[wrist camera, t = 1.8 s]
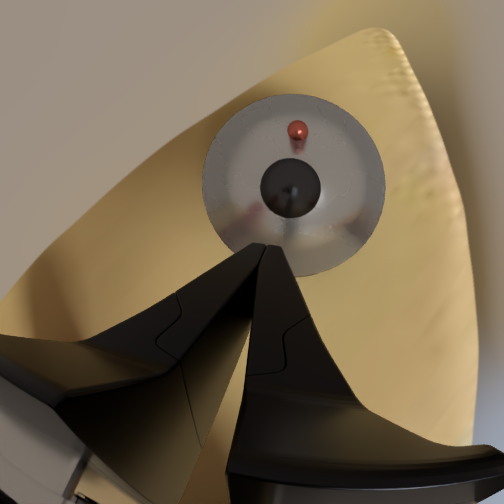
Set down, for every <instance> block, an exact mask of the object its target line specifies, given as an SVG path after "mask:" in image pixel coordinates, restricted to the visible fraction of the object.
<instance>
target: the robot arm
mask: <svg viewBox="0 0 504 504" xmlns="http://www.w3.org/2000/svg"><path fill="white" fill-rule="evenodd" d="M250 328H251V330H250ZM249 331H250V339H249V348H248V356H247V365H246V373H245V382H244V389H243V396H242V401H241V406H240V410H239V415H238V419H237V423H236V428H235V432H234V436H233V440H232V445H231V449H230V453H229V457H228V462H227V466H226V471H225V476H226V483H227V490H228V497H229V503H230V504H477V503H478V502H480V501H482V500H484V499H486V498H488V497H490V496H492V495H493V494H495V493H497V492H499V491H501V490H502V489H504V453H503V452H501V451H500V450H498V449H496V448H495V447H493V446H491V445H485V444H483V445H471V446H447V445H442V444H439V443H435V442H432V441H430V440H427V439H425V438H423V437H421V436H419V435H417V434H414V433H412V432H410V431H408V430H406V429H404V428H402V427H400V426H398V425H396V424H394V423H392V422H390V421H388V420H386V419H385V418H383V417H381V416H379V415H377V414H375V413H373V412H371V411H370V410H368V409H367V408H366V407H365V406H364V405H363V404H362V403H361V402H360V401H359V400H358V398H357V397H356V396H355V394H354V393H353V391H352V389H351V388H350V386H349V385H348V383H347V381H346V380H345V378H344V376H343V375H342V373H341V371H340V370H339V368H338V367H337V365H336V363H335V362H334V360H333V358H332V357H331V355H330V353H329V352H328V350H327V348H326V346H325V344H324V343H323V341H322V339H321V337H320V335H319V332H318V330H317V328H316V326H315V324H314V321H313V319H312V317H311V314H310V312H309V310H308V307H307V305H306V302H305V300H304V298H303V295H302V293H301V291H300V288H299V286H298V284H297V281H296V279H295V277H294V274H293V272H292V270H291V267H290V265H289V263H288V260H287V258H286V256H285V253H284V251H283V249H282V247H281V246H276V245H267V246H266V245H265V244H262V243H255V242H252V243H250V244H249V245H247V246H246V247H244V248H243V249H241V250H239V251H238V252H236V253H235V254H233V255H232V256H230V257H228V258H227V259H225V260H224V261H222V262H221V263H219V264H217V265H216V266H214V267H213V268H211V269H210V270H208V271H207V272H205V273H203V274H202V275H200V276H199V277H197V278H196V279H194V280H193V281H191V282H189V283H188V284H186V285H185V286H183V287H182V288H180V289H179V290H177V291H176V292H175V293H172V294H171V295H169V296H167V297H166V298H164V299H163V300H161V301H159V302H158V303H156V304H154V305H153V306H151V307H150V308H148V309H146V310H144V311H142V312H140V313H138V314H137V315H135V316H133V317H131V318H129V319H127V320H125V321H123V322H121V323H119V324H117V325H115V326H113V327H111V328H109V329H107V330H105V331H103V332H101V333H99V334H97V335H95V336H93V337H91V338H89V339H86V340H82V341H77V342H60V341H50V340H41V339H32V338H24V337H16V336H9V335H2V334H0V504H179V502H180V500H181V498H182V495H183V493H184V491H185V488H186V486H187V484H188V481H189V479H190V477H191V474H192V472H193V470H194V467H195V465H196V463H197V460H198V458H199V455H200V453H201V449H202V448H203V446H204V443H205V441H206V438H207V436H208V434H209V431H210V429H211V426H212V424H213V422H214V419H215V417H216V414H217V412H218V409H219V407H220V404H221V402H222V399H223V397H224V394H225V392H226V389H227V387H228V384H229V382H230V379H231V377H232V374H233V372H234V369H235V367H236V364H237V362H238V359H239V357H240V354H241V352H242V349H243V346H244V344H245V341H246V339H247V336H248V334H249Z"/></svg>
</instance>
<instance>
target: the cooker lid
mask: <svg viewBox="0 0 504 504" xmlns="http://www.w3.org/2000/svg"><path fill="white" fill-rule="evenodd" d="M202 190H203V199H204V203H205V207H206V211H207V214H208V216H209V219H210V222H211V223H212V225H213V227H214V229H215V231H216V233H217V234H218V235H219V237H220V238H221V240H222V241H223V242H224V243H225V244H226V245H227V246H228V248H229V249H230V250H231V251H233V252H234V253H236V252H238V251H239V250H241V249H243V248H244V247H246V246H247V245H249V244H250V243H252V242H255V243H262V244H265V245H266V246H267V245H276V246H281V247H282V249H283V251H284V253H285V256H286V258H287V260H288V263H289V265H290V267H291V270H292V272H293V274H294V276H305V275H311V274H317V273H320V272H324V271H327V270H329V269H331V268H334V267H336V266H338V265H340V264H341V263H343V262H345V261H346V260H348V259H349V258H350V257H352V256H353V255H354V254H355V253H356V252H358V251H359V249H360V248H361V247H362V246H363V245H364V244H365V243H366V242H367V240H368V239H369V237H370V236H371V235H372V233H373V231H374V229H375V227H376V225H377V224H378V221H379V218H380V216H381V213H382V209H383V205H384V200H385V174H384V169H383V164H382V160H381V157H380V154H379V152H378V150H377V148H376V145H375V143H374V141H373V140H372V138H371V137H370V135H369V134H368V132H367V131H366V130H365V128H364V127H363V126H362V125H361V124H360V123H359V122H358V121H357V120H356V119H355V118H354V117H353V116H352V115H350V114H349V113H348V112H346V111H345V110H343V109H342V108H340V107H339V106H337V105H335V104H333V103H331V102H329V101H326V100H323V99H320V98H317V97H314V96H308V95H302V94H284V95H276V96H272V97H267V98H264V99H261V100H259V101H256V102H254V103H252V104H250V105H248V106H246V107H244V108H243V109H241V110H240V111H239V112H237V113H236V114H235V115H233V116H232V117H231V118H230V119H229V120H228V121H227V122H226V123H225V124H224V126H223V127H222V128H221V129H220V131H219V132H218V133H217V135H216V137H215V138H214V140H213V142H212V144H211V146H210V148H209V151H208V153H207V156H206V160H205V163H204V169H203V176H202Z"/></svg>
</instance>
